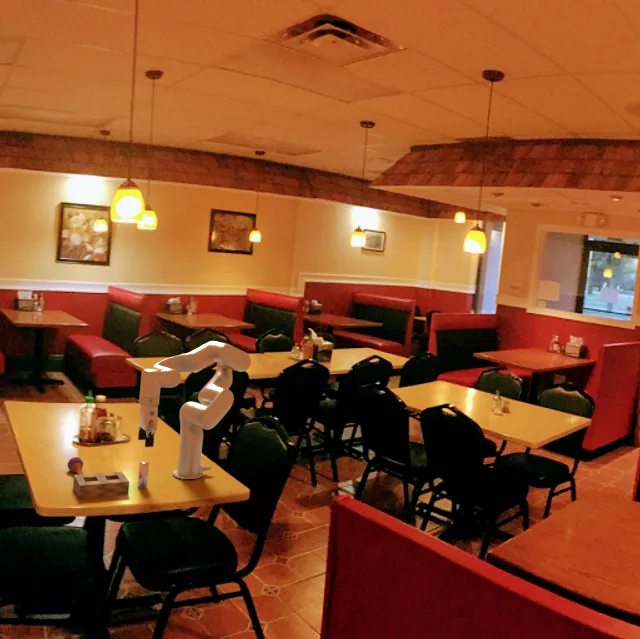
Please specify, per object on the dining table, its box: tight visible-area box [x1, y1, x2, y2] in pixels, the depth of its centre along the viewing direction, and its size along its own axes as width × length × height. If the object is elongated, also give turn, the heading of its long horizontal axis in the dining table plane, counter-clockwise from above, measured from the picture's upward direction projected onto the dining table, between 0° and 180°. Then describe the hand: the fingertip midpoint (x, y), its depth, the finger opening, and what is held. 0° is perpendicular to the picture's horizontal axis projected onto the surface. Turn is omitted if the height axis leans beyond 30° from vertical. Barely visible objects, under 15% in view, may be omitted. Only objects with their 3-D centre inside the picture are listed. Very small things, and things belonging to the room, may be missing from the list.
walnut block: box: [72, 470, 130, 500], centre depth 248 cm, size 18×12×5 cm, turn 121°
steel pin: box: [137, 460, 150, 490], centre depth 256 cm, size 4×4×10 cm
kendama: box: [66, 456, 84, 475], centre depth 260 cm, size 6×6×20 cm
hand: (145, 443), depth 255 cm, fingers open, 9 cm apart
